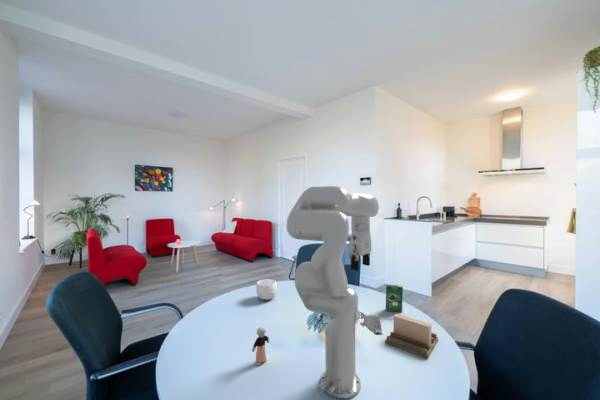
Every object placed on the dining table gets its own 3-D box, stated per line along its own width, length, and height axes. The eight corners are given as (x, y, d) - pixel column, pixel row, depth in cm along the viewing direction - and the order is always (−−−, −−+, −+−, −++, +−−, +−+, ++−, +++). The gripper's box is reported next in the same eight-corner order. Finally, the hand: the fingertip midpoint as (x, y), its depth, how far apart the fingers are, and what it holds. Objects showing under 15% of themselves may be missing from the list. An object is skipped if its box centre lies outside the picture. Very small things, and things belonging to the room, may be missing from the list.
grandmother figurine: (258, 369, 89) (258, 333, 89) (250, 365, 91) (250, 330, 91) (272, 357, 96) (272, 323, 96) (264, 353, 98) (264, 321, 98)
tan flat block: (429, 347, 99) (429, 327, 99) (393, 334, 109) (393, 315, 108) (431, 343, 102) (431, 324, 101) (396, 331, 111) (396, 313, 111)
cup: (276, 302, 144) (276, 285, 144) (254, 303, 144) (254, 286, 144) (278, 294, 156) (278, 278, 156) (258, 294, 156) (258, 278, 156)
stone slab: (357, 312, 130) (377, 312, 128) (357, 315, 130) (377, 315, 128) (359, 332, 112) (383, 332, 110) (360, 336, 112) (383, 336, 110)
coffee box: (401, 309, 134) (401, 284, 133) (402, 312, 131) (402, 286, 130) (385, 308, 135) (385, 284, 135) (386, 311, 132) (386, 286, 132)
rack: (427, 359, 94) (427, 352, 94) (385, 342, 104) (385, 336, 104) (438, 339, 106) (438, 334, 106) (399, 327, 116) (399, 321, 116)
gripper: (358, 229, 98) (358, 274, 99) (377, 225, 111) (378, 264, 112) (341, 228, 103) (341, 270, 104) (362, 224, 116) (362, 261, 117)
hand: (360, 267), depth 108 cm, fingers open, 9 cm apart
